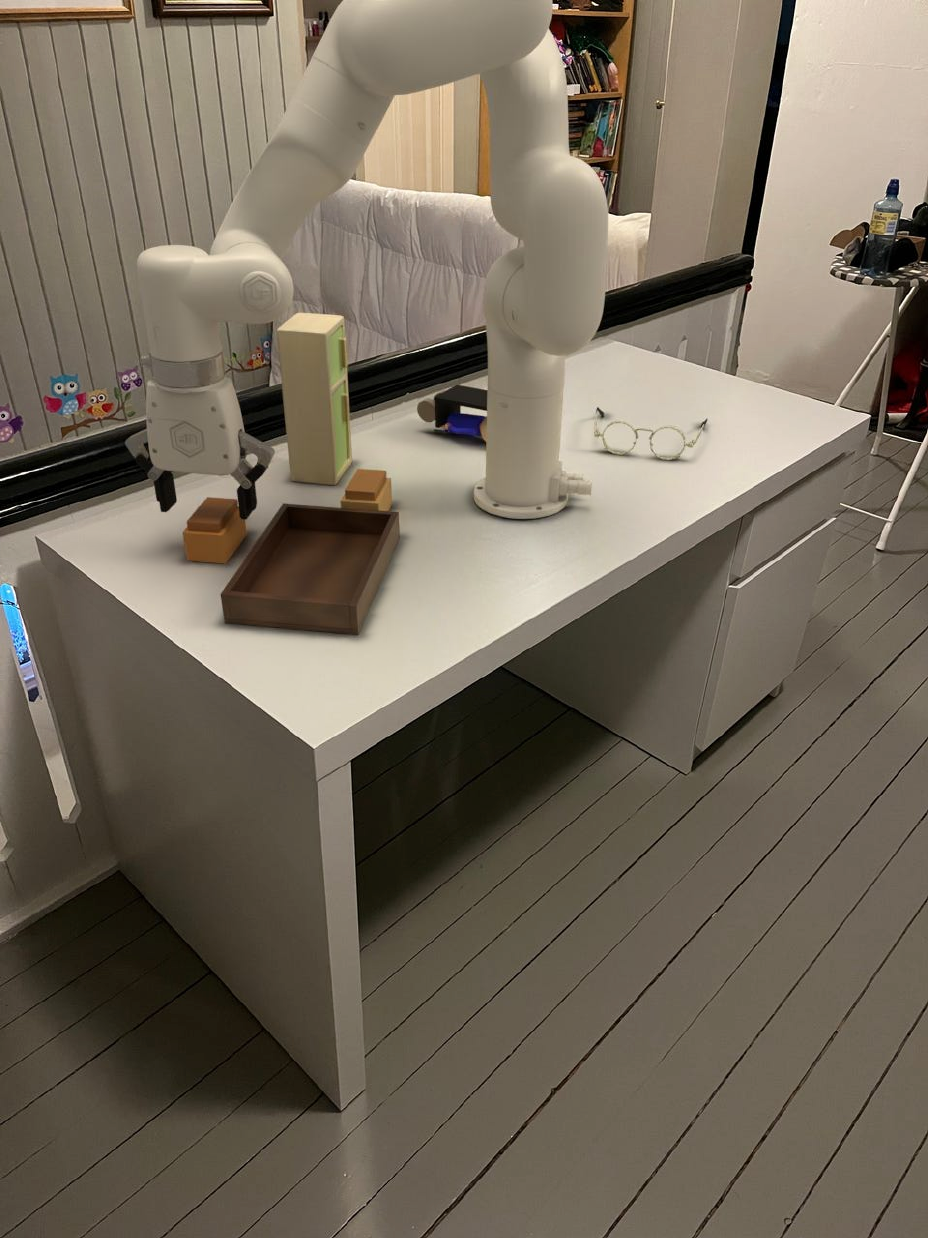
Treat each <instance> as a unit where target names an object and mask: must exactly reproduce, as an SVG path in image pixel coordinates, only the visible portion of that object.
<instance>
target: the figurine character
mask: <svg viewBox="0 0 928 1238" xmlns="http://www.w3.org/2000/svg"><path fill="white" fill-rule="evenodd" d="M487 390H488V389H483V388H479V387H472V386H468V385H462V384H455V385H454V386H452V387H450V388H448V389H446V390H441V391H440V392H437V393H436V394H434V397H433V398H429V397H428V398H425V399H423V400H421V401H420V402H418V404H417V407H416V411H417V414H418V417H419V418H420V419H421V420H422V421H424V422H425V423H433V422H434V427H435V429H433V430H432V431H433V432H434V433H437V434H446V435H449V434H451V433H453V434H456V435H458V434H460V435H466V436H467V435H468V436H476V437H481V438H482V439H483V441H485V442H486V438H487V415H479V414H471V413H463V412H462V411H461V409H462V407H463V408H468V409H475V410H479V411H484V412H487ZM442 427H444V429H440V428H442Z"/></svg>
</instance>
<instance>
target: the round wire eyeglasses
mask: <svg viewBox="0 0 928 1238" xmlns="http://www.w3.org/2000/svg"><path fill="white" fill-rule="evenodd" d="M598 413H599V415H600V416H601V417H603V418H604V417H605V412H604V411H603V410H602V409H601V408H600V407H598V406H597V407H596V411H595V420H594V428H593V429H594V431H593V434H594V438H599V437H601V438H602V439H601V440H602V443H603V446H604V450H605V451H608V452H610V453H611V454H614V455H618V456H622V455H626V454H629V453H630V452H631V451H632V450H634V448H635V446H636V444H637V441H638V439H639V433H638V431H644V432H651V434H650V436H649V437H648V440H649V446H650V451H651V452H652V453H653V455H654V456H655V457H656V458H658V459H660V460H664V461H670V460H675V459H676V458H677V459H680V458H681V455H682V454H683V452H684V451H685V448H686V447H688V448H694V446H695V445H696V443H697V441H698V440H699V438H700V436H701V433H702V431H703V429H704V427H705V426H706V424H707V422H708V418H706V419H704V421H702V422H701V423H700V429H699V431H698V433H697V435H696V436H695V437H694V439H691V441H688V442H686V441H687V440H686V439H687V438H686V435H685V433H684V431H683V430H681V428H679V427H677V426H674V425H666V426H661V427H659V428H657V429H656V430H655V431H654V430H653V429H650V428H642V427H638V428H635V427H633V425H632V424H630V423H629V422H627V421H624V420H619V419H618V420H614V421H611V422H610V423H608V424H607V425H606V427H605V428H604V430H603V433H600V432H601V431H599V429H598V428H597V426H598V425H597V424H598V423H597V421H598V420H597V419H598ZM614 424H623V425H627V426H628V427H630V428H631V429H632V432H634V435H635V441H633V443H632V444H633V445H632V447H631V448H629V450H627V451H623V452H621V451H620V452H619V451H616V450H614V449H612V448H611V447H610V446H609V445H608V443H607V441H606V439H605V432H606V430H607V429H608V428H609V427H611V426H613V425H614ZM664 429H671V430H674V431H676V432H678V434H680V435H681V437H682V440H683V448H682V449H681V450H680V452H678V453H677V454H676V455H673V456H670V457H666V456H665V457H664V456H660V455H659V454H657V452H655V451H654V449H653V446H654V444H653V443H652V439H653V436H654V435H655V434H656V433H657V432H659V431H660V430H664Z"/></svg>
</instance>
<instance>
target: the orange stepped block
mask: <svg viewBox="0 0 928 1238" xmlns="http://www.w3.org/2000/svg"><path fill="white" fill-rule="evenodd" d="M247 530H248V529H247V523H246V520H244V519H241V518H240V515H239V506H238V498H225V497H224V498H223V497H222V498H221V497H209V496H207V497H206V498H205V499H204V500H203V502H202V503H201V504H200V505H199V506H198V507H197V508H196V510H195V511H194V512H193V513H192V515H190V517H189V518H188V519H187V520H186V527H185V529H184V530H183V531H182V537H183V544H184V550H185V556H186V560H187V561H188V562H189V561H190V562H202V563H212V564H214V563H215V564H224V565H225V564H227V563H228V562H229V560H230V559H231V558H232V556H233V555H234V553H235V552H236V551H237V549H238V548H239V547H240V545H241V543H242V542H243V541H244V539H245V538H246V537H247V535H248V531H247Z"/></svg>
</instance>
